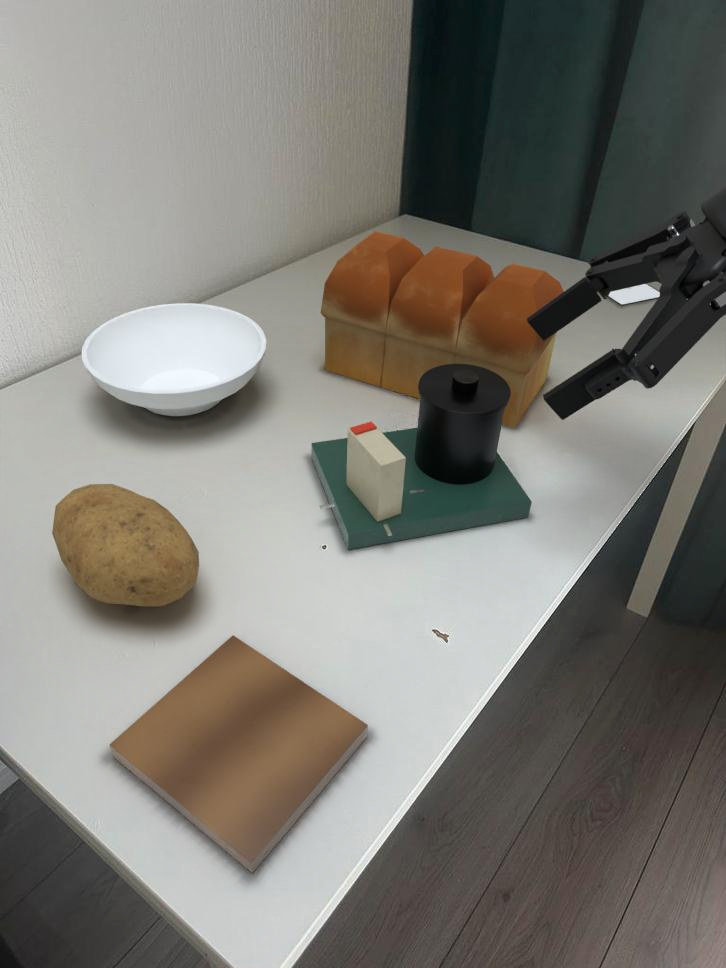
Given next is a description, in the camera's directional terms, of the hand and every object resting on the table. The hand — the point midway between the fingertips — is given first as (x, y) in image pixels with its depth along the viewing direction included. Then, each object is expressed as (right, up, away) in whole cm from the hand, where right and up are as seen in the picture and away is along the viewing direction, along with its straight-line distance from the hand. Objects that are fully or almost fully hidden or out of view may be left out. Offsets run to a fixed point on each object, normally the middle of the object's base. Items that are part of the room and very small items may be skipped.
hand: (542, 366), depth 70 cm
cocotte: (-7, -8, +7) cm, 13 cm away
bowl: (-37, -1, +18) cm, 41 cm away
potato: (-36, -19, -5) cm, 41 cm away
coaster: (+22, +18, +44) cm, 52 cm away
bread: (-8, +2, +23) cm, 25 cm away
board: (-25, -29, -16) cm, 42 cm away
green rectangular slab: (-11, -11, +7) cm, 17 cm away
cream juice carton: (-15, -12, +2) cm, 20 cm away
